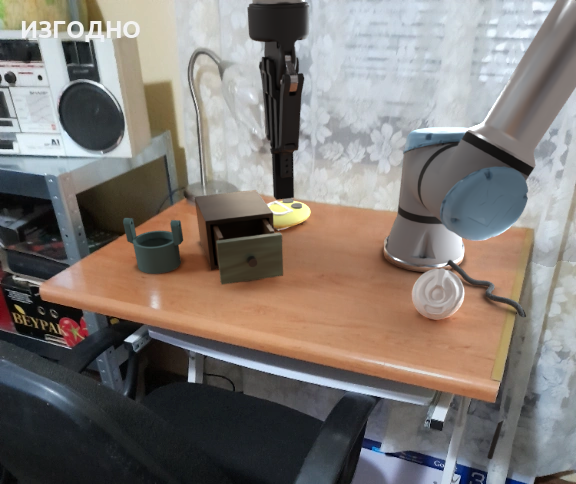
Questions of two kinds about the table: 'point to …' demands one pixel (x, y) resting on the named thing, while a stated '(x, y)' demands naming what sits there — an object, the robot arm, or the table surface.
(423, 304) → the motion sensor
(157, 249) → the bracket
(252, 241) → the case drawer
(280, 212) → the emoji
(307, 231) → the table surface
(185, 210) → the table surface
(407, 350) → the table surface
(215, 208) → the case
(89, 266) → the table surface
